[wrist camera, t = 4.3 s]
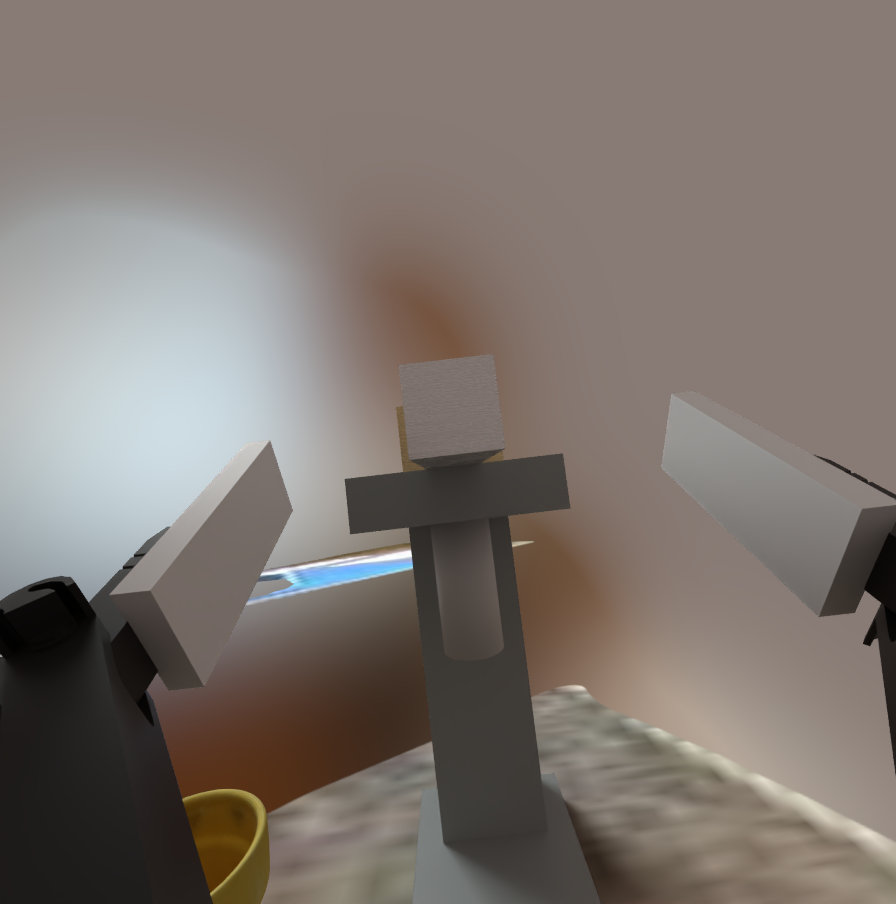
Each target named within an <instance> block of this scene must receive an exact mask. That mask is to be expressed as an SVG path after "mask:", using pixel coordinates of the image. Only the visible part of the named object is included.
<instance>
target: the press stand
mask: <svg viewBox="0 0 896 904" xmlns="http://www.w3.org/2000/svg"><path fill="white" fill-rule="evenodd" d="M345 486H346V496H347V506H348V516H349V526H350V534H357V533H365V532H373V531H382V530H391V529H398V528H408V527H409V533H410V542H411V552H412V561H413V570H414V579H415V588H416V597H417V606H418V615H419V625H420V633H421V643H422V652H423V661H424V671H425V680H426V689H427V698H428V707H429V716H430V725H431V735H432V744H433V753H434V762H435V771H436V780H437V787H436V788H428V789H422V799H421V810H420V822H419V833H418V844H417V855H416V867H415V878H414V889H413V900H412V904H601V902H600V899H599V896H598V893H597V891H596V888H595V885H594V882H593V880H592V877H591V874H590V871H589V868H588V866H587V863H586V860H585V857H584V854H583V852H582V849H581V846H580V843H579V841H578V838H577V835H576V832H575V829H574V827H573V824H572V821H571V818H570V816H569V813H568V810H567V807H566V804H565V802H564V799H563V796H562V793H561V790H560V788H559V785H558V782H557V779H556V777H555V774H554V773H552V774H544V775H541V773H540V765H539V757H538V749H537V741H536V733H535V725H534V717H533V709H532V702H531V695H530V686H529V678H528V670H527V662H526V655H525V646H524V639H523V631H522V623H521V615H520V607H519V599H518V591H517V583H516V575H515V567H514V559H513V552H512V543H511V535H510V528H509V519H508V516H510V515H518V514H526V513H534V512H543V511H552V510H559V509H568V508H570V503H569V495H568V488H567V480H566V474H565V466H564V458H563V454H555V455H546V456H537V457H529V458H520V459H512V460H503V461H495V462H486V463H478V464H469V465H460V466H452V467H443V468H435V469H426V470H418V471H409V472H401V473H392V474H384V475H375V476H367V477H358V478H351V479H345Z"/></svg>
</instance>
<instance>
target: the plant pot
mask: <svg viewBox="0 0 896 904" xmlns="http://www.w3.org/2000/svg"><path fill="white" fill-rule="evenodd" d="M182 800H183V803H184V807H185V810H186V813H187V817H188V820H189V823H190V827H191V830H192V834H193V837H194V840H195V844H196V847H197V851H198V854H199V857H200V861H201V864H202V868H203V871H204V874H205V878H206V881H207V885H208V888H209V891H210V895H211V898H212V901H213V904H260V903H261V901H262V899H263V896H264V893H265V891H266V887H267V883H268V879H269V872H270V853H269V834H268V823H267V814H266V811H265V808H264V806H263V804H262V802H261V801H260V800H259V799H258V798H257V797H256V796H254V795H252V794H251V793H249V792H246V791H242V790H235V789H221V790H213V791H207V792H203V793H199V794H195V795H193V796H189V797H186V798H184V799H182Z"/></svg>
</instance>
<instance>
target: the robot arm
mask: <svg viewBox="0 0 896 904" xmlns="http://www.w3.org/2000/svg"><path fill="white" fill-rule="evenodd" d="M661 468H662V469H663V470H664V471H665V472H666V473H667V474H668V475H669V476H670V477H671V478H672V479H673V480H674V481H675V482H677V483H678V484H679V485H680V486H681V487H682V488H683V489H684V490H685V491H686V492H687V493H688V494H689V495H690V496H692V498H694V500H696V501H697V502H698V503H699V504H700V505H701V506H702V507H703V508H704V509H705V510H706V511H707V512H709V514H710V515H711V516H713V517H714V518H715V519H716V520H717V521H718V522H719V523H720V524H721V525H722V526H723V527H724V528H725V529H726V530H728V532H730V534H732V535H733V536H734V537H735V538H736V539H737V540H738V541H739V542H740V543H741V544H742V545H743V546H744V547H745V548H746V549H747V550H749V551H750V552H751V553H752V554H753V555H754V556H755V557H756V558H757V559H758V560H759V561H760V562H761V563H762V564H763V565H764V566H765V567H766V568H768V569H769V570H770V571H771V572H772V573H773V574H774V575H775V576H776V577H777V578H778V579H779V580H780V581H781V582H782V583H783V584H784V585H786V586H787V587H788V588H789V589H790V590H791V591H792V592H793V593H794V594H795V595H796V596H797V597H798V598H799V599H800V600H801V601H802V602H803V603H805V604H806V605H807V606H808V607H809V608H810V609H811V610H812V611H813V612H814V613H815V614H816V615H817V616H818V617H822V616H831V615H840V614H849V613H855V611H856V609H857V607H858V605H859V602H860V600H861V598H862V596H863V593H864V591H867V592H868V593H869V594H871V595H872V596H873V597H874V598H876V599H877V600H878V601H880V602H881V605H880V607H879V609H878V611H877V614H876V616H875V617H874V619H873V622H872V624H871V626H870V628H869V630H868V632H867V634H866V636H865V639H864V642H863V644H865V645H868V646H870V645H871V643H872V641H873V639H877V638H878V641H879V650H880V657H881V665H882V673H883V681H884V688H885V696H886V704H887V712H888V719H889V727H890V734H891V742H892V750H893V758H894V765H895V774H896V495H895V494H893V493H891V492H889V491H888V490H886V489H884V488H882V487H880V486H878V485H876V484H874V483H873V482H868V481H867V479H865V478H863V477H861V476H859V475H857V474H856V473H851V471H850V470H848V469H846V468H844V467H842V466H840V465H839V464H836V463H835V462H833V461H831V460H828V459H825V458H822V457H819V456H816V455H812V454H810V453H808V452H807V451H805V450H803V449H801V448H799V447H797V446H796V445H794V444H792V443H790V442H788V441H786V440H784V439H782V438H781V437H779V436H777V435H775V434H773V433H772V432H770V431H768V430H766V429H764V428H762V427H760V426H758V425H756V424H755V423H753V422H751V421H749V420H748V419H746V418H744V417H742V416H740V415H738V414H736V413H735V412H733V411H731V410H729V409H727V408H725V407H723V406H722V405H719V404H718V403H716V402H714V401H712V400H710V399H709V398H707V397H705V396H703V395H701V394H699V393H698V392H696V391H692V392H683V393H675V394H671V401H670V408H669V415H668V423H667V430H666V437H665V444H664V452H663V459H662V466H661ZM292 511H293V510H292V507H291V503H290V501H289V497H288V494H287V491H286V488H285V485H284V482H283V479H282V476H281V473H280V469H279V467H278V463H277V460H276V457H275V454H274V451H273V448H272V445H271V442H270V440H268V441H259V442H251V443H246V444H245V445H244V446H243V448H242V449H241V450H240V451H239V452H238V453H237V454H236V455H235V456H234V458H233V459H232V460H231V461H230V462H229V463H228V464H227V465H226V466H225V467H224V469H223V470H222V471H221V472H220V473H219V474H218V475H217V476H216V477H215V479H214V480H213V481H212V482H211V483H210V484H209V485H208V486H207V487H206V489H205V490H204V491H203V492H202V493H201V494H200V495H199V496H198V497H197V498H196V499H195V501H194V502H193V503H192V504H191V505H190V506H189V507H188V508H187V509H186V511H185V512H184V513H183V514H182V515H181V516H180V517H179V518H178V520H176V522H175V523H174V524H173V525H172V526H171V527H167V528H165V529H163V530H162V531H160V532H159V533H157V534H156V535H155V536H153V537H152V538H150V539H149V540H147V541H146V542H145V543H144V545H143V546H142V547H141V548H140V549H139V550H138V551H137V552H136V553H135V554H134V557H132V558H130V559H129V560H128V562H127V563H126V564H125V565H124V566H123V569H122V570H119V571H118V572H117V573H116V574H115V575H114V576H113V577H112V579H110V581H109V582H108V583H107V584H106V585H105V586H104V587H103V588H102V589H101V590H100V591H99V592H98V594H96V595H95V597H94V598H93V599H92V600H91V601H90V602H88V601H87V599H86V598H85V596H84V595H83V593H82V592H81V590H80V589H79V587H78V586H77V584H76V583H75V582H74V580H73V579H72V578H71V577H64V576H59V577H53V578H48V579H45V580H41V581H39V582H36V583H33V584H30V585H28V586H26V587H24V588H22V589H20V590H18V591H16V592H14V593H12V594H10V595H8V596H7V597H5V598H4V599H2V600H1V601H0V654H1V655H2V656H3V657H0V904H213V901H212V898H211V895H210V891H209V888H208V885H207V881H206V878H205V874H204V871H203V868H202V864H201V861H200V857H199V854H198V851H197V847H196V844H195V840H194V837H193V834H192V830H191V827H190V823H189V820H188V817H187V813H186V810H185V807H184V803H183V800H182V796H181V793H180V790H179V786H178V783H177V779H176V776H175V773H174V769H173V766H172V763H171V759H170V756H169V752H168V749H167V745H166V742H165V739H164V735H163V732H162V729H161V725H160V722H159V718H158V715H157V712H156V708H155V705H154V702H153V699H152V698H151V696H150V695H149V693H148V692H147V688H148V686H149V685H150V683H151V682H152V680H153V678H154V677H155V675H156V674H157V673H158V674H159V676H160V677H161V679H162V681H163V682H164V684H165V685H166V687H167V689H168V690H169V691H171V690H179V689H189V688H197V687H205V684H206V683H207V680H208V678H209V676H210V675H211V673H212V670H213V669H214V667H215V664H216V662H217V661H218V659H219V657H220V654H221V653H222V651H223V649H224V647H225V645H226V643H227V641H228V639H229V636H230V635H231V633H232V630H233V628H234V627H235V625H236V623H237V620H238V619H239V617H240V615H241V613H242V611H243V609H244V607H245V605H246V603H247V601H248V599H249V597H250V595H251V593H252V591H253V589H254V587H255V585H256V583H257V581H258V579H259V577H260V575H261V573H262V571H263V569H264V567H265V565H266V563H267V561H268V559H269V557H270V555H271V553H272V551H273V549H274V547H275V545H276V543H277V541H278V539H279V537H280V535H281V533H282V531H283V529H284V527H285V525H286V523H287V521H288V519H289V517H290V515H291V513H292Z"/></svg>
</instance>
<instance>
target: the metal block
mask: <svg viewBox="0 0 896 904" xmlns="http://www.w3.org/2000/svg"><path fill="white" fill-rule="evenodd" d="M399 374H400V383H401V392H402V401H403V406H402V407H396V410H397V419H398V428H399V437H400V447H401V456H402V465H403V472H409V471H418V470H426V469H435V468H443V467H452V466H460V465H469V464H478V463H486V462H495V461H503V452H502V450H504V449H505V442H504V434H503V426H502V418H501V411H500V402H499V395H498V388H497V379H496V371H495V363H494V355H493V354H490V355H482V356H473V357H465V358H456V359H448V360H439V361H430V362H421V363H413V364H404V365H399Z"/></svg>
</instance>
